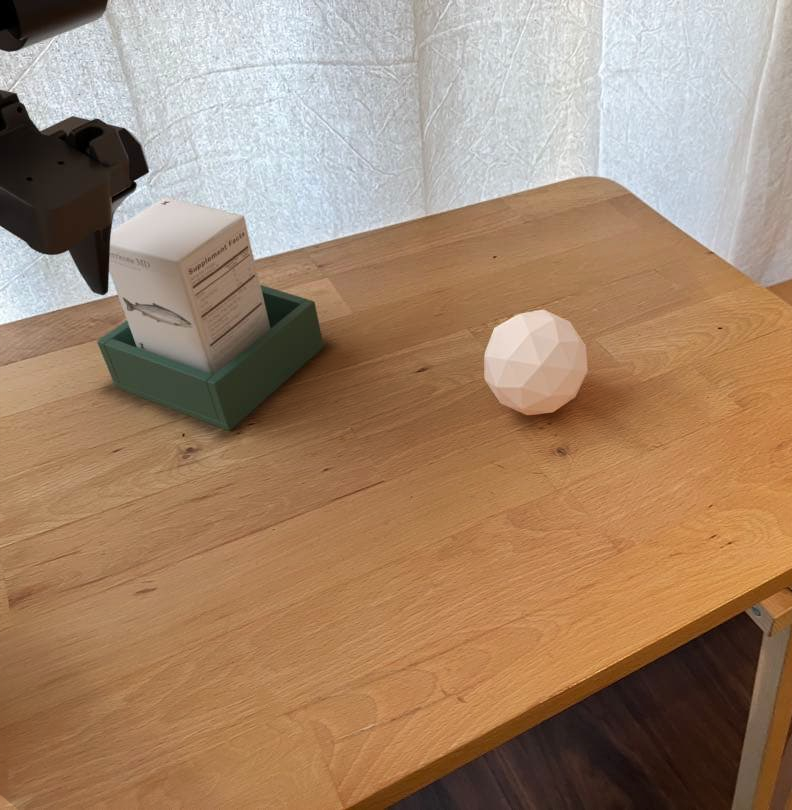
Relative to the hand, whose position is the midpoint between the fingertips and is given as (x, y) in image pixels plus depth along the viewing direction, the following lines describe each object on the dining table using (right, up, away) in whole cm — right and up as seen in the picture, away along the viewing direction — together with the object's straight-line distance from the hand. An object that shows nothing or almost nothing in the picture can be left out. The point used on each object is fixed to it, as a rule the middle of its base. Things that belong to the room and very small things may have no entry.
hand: (44, 330), depth 55 cm
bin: (+5, -2, +16) cm, 17 cm away
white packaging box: (+5, -2, +16) cm, 17 cm away
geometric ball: (+31, -4, +13) cm, 34 cm away
